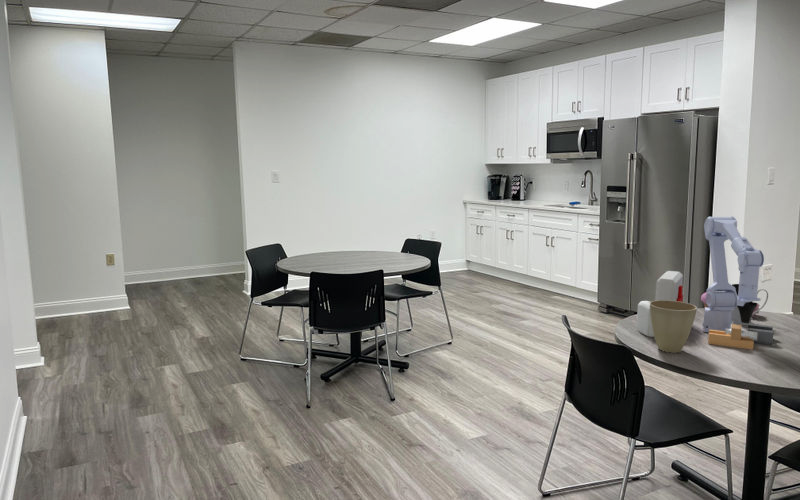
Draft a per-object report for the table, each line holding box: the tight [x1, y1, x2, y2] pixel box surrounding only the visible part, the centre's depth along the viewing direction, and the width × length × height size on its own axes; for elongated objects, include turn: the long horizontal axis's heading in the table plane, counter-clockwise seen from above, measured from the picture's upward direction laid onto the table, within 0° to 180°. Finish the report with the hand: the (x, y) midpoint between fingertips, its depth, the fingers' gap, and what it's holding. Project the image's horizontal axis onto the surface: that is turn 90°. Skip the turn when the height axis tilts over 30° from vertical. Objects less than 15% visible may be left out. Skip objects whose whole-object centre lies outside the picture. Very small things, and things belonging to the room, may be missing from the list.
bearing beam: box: [707, 323, 755, 350], centre depth 214 cm, size 14×6×7 cm, turn 60°
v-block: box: [746, 323, 774, 346], centre depth 219 cm, size 8×10×4 cm
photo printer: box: [636, 300, 655, 338], centre depth 228 cm, size 10×4×12 cm, turn 3°
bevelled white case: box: [654, 270, 684, 302], centre depth 240 cm, size 21×8×20 cm, turn 148°
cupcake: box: [700, 291, 716, 313], centre depth 256 cm, size 9×9×10 cm
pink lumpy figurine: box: [751, 303, 760, 318], centre depth 252 cm, size 10×5×7 cm, turn 149°
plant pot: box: [649, 300, 698, 354], centre depth 208 cm, size 15×15×16 cm
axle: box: [725, 328, 758, 341], centre depth 213 cm, size 10×3×3 cm, turn 60°
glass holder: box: [731, 283, 769, 326], centre depth 242 cm, size 9×14×15 cm, turn 82°
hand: (745, 322), depth 211 cm, fingers closed
